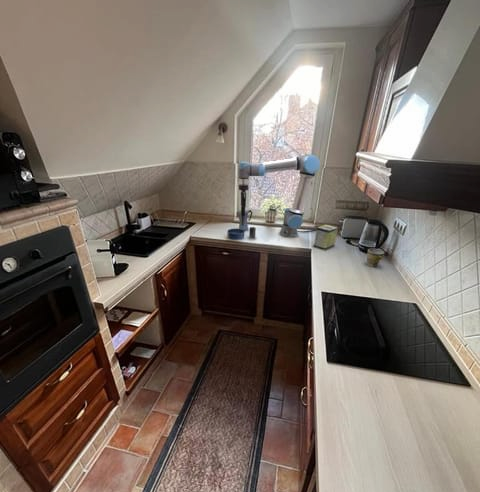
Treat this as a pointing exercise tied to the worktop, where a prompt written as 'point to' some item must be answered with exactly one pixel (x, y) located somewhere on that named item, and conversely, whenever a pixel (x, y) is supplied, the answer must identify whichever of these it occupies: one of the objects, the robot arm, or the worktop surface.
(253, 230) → the crock
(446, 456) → the worktop surface
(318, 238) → the protein box
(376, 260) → the ceramic cup
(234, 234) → the bowl
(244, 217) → the moka pot
